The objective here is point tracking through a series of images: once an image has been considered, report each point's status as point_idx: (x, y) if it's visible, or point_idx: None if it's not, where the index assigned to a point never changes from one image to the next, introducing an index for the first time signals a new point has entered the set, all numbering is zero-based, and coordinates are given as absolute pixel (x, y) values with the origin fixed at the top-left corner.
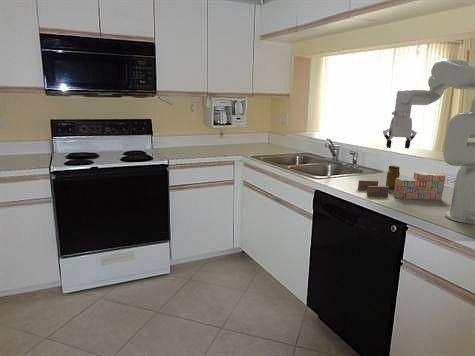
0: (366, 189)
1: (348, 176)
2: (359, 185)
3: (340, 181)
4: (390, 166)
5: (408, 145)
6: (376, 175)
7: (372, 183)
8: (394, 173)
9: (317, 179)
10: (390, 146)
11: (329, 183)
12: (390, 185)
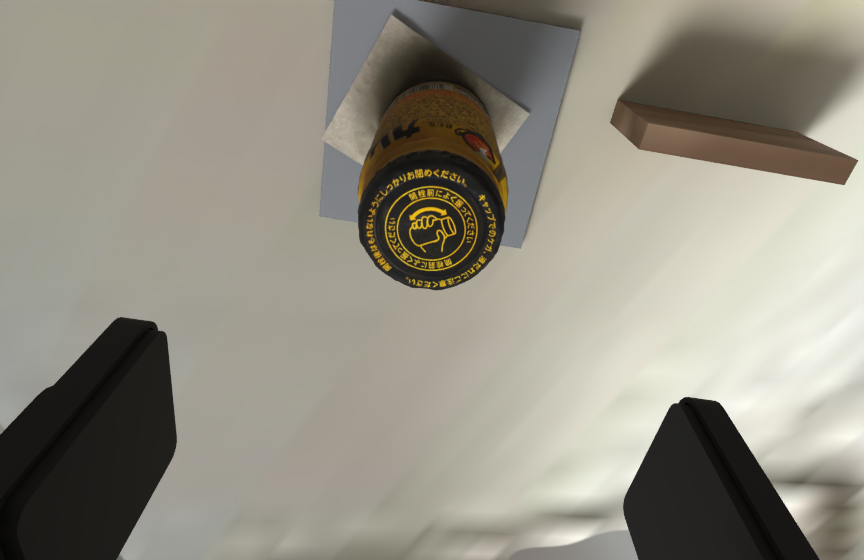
0: (727, 120)
1: (531, 513)
2: (821, 144)
3: None
4: (497, 228)
5: (99, 378)
6: (289, 523)
7: (702, 126)
8: (468, 129)
9: (848, 461)
10: (710, 425)
11: (861, 357)
12: (481, 108)
